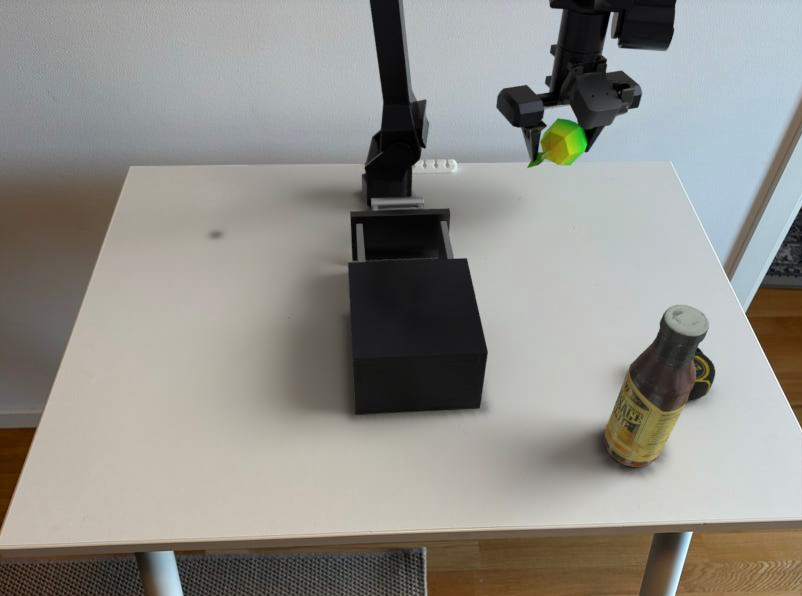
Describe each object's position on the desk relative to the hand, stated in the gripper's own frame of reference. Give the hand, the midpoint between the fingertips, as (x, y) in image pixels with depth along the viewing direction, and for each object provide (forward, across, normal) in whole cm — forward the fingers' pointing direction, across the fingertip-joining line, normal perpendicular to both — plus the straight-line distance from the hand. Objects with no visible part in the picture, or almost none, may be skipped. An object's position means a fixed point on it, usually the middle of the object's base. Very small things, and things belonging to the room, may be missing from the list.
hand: (558, 155), depth 103 cm
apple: (+2, 0, 0) cm, 2 cm away
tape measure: (+10, -2, -35) cm, 36 cm away
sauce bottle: (+10, -12, -42) cm, 44 cm away
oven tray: (+9, -26, -8) cm, 28 cm away
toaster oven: (+10, -30, -22) cm, 38 cm away
